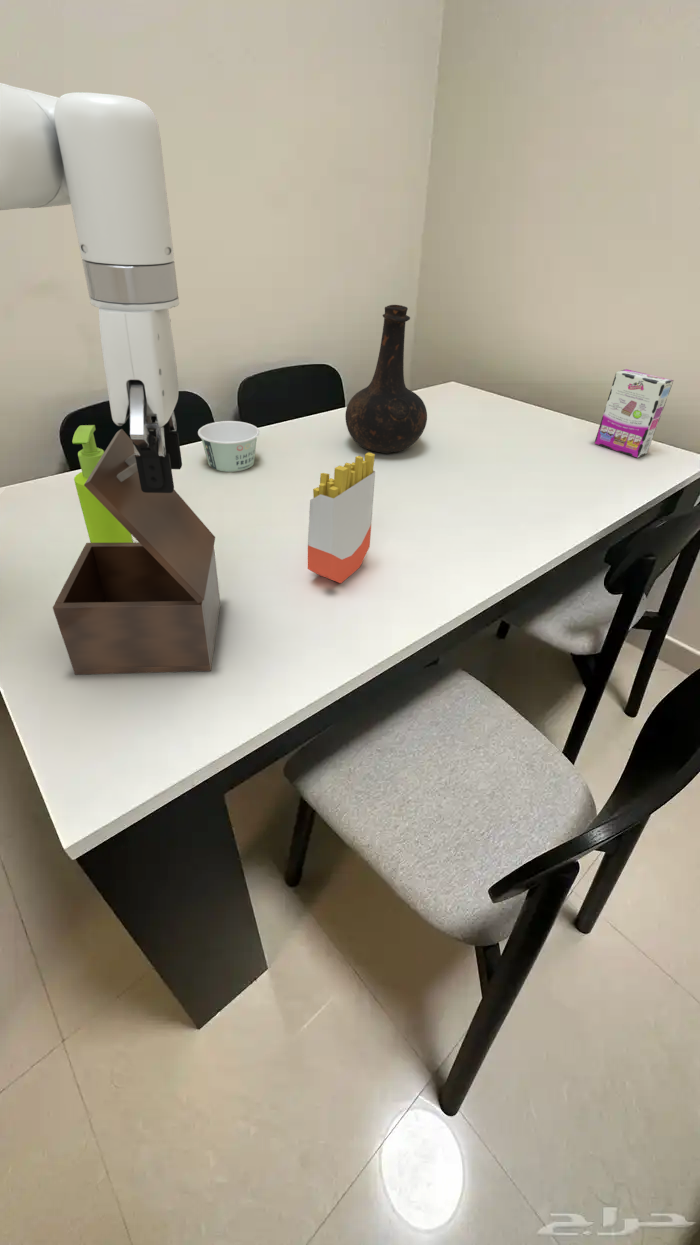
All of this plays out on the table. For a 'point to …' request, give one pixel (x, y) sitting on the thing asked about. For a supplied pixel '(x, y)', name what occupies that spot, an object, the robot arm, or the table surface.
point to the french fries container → (341, 519)
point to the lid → (154, 517)
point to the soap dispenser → (95, 514)
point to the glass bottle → (387, 396)
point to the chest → (134, 614)
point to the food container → (229, 445)
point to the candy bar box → (633, 412)
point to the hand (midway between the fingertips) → (162, 477)
